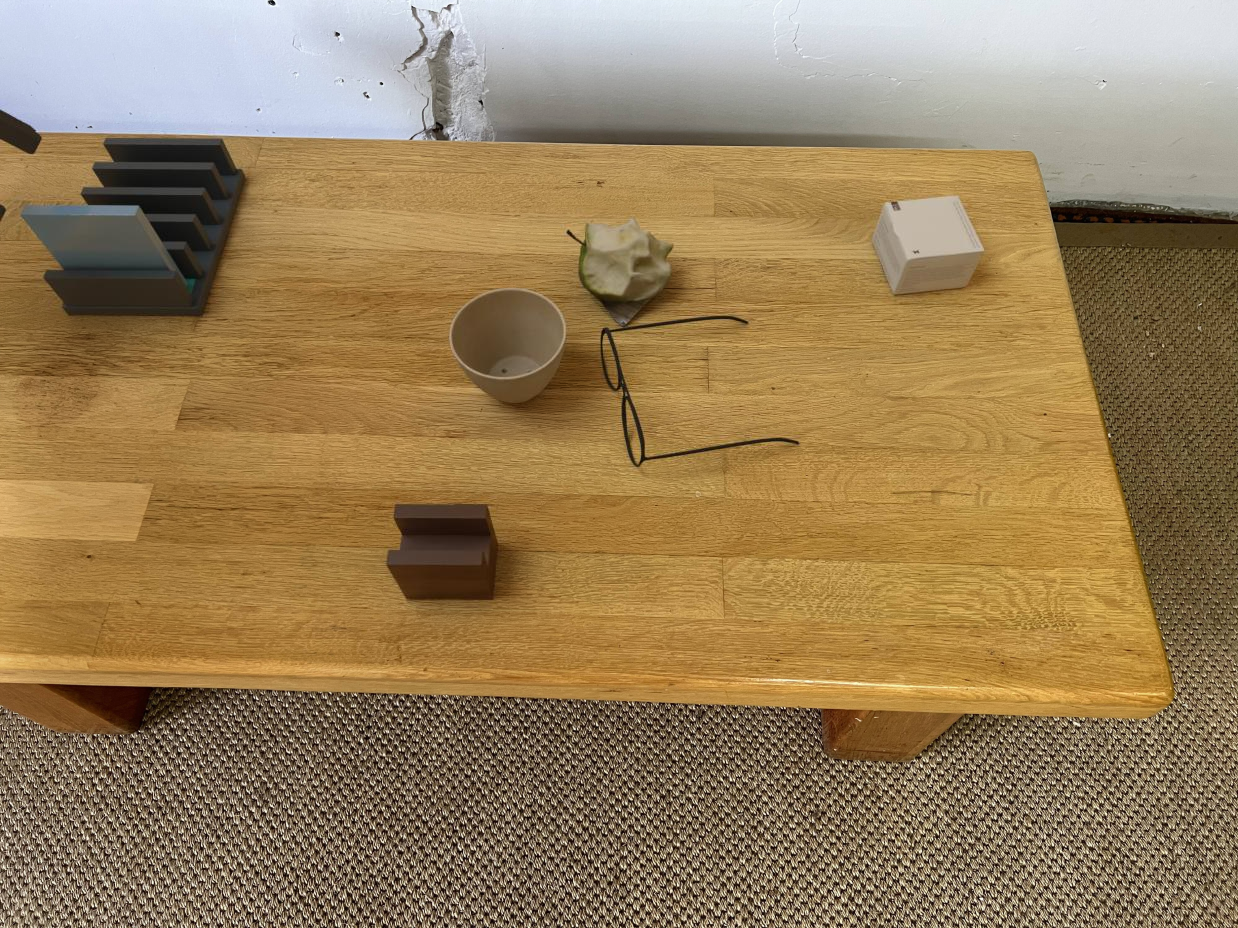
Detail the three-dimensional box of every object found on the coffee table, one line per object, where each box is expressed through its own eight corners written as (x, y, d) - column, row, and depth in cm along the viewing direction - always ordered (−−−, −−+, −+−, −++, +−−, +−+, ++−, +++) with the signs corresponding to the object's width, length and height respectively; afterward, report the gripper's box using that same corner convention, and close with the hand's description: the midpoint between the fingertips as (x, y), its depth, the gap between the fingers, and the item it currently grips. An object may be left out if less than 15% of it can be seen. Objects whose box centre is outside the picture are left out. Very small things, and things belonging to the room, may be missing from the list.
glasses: (596, 352, 82) (601, 317, 77) (743, 333, 85) (755, 298, 81) (635, 481, 75) (643, 450, 70) (793, 454, 78) (810, 423, 74)
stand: (493, 600, 69) (481, 565, 63) (405, 599, 69) (385, 564, 63) (498, 543, 72) (487, 504, 66) (413, 542, 72) (395, 503, 66)
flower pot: (591, 392, 79) (588, 343, 73) (496, 444, 76) (486, 398, 70) (534, 321, 83) (527, 270, 77) (442, 368, 81) (427, 319, 74)
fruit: (560, 304, 86) (548, 235, 80) (621, 257, 90) (614, 188, 84) (631, 339, 82) (624, 269, 76) (691, 288, 86) (689, 218, 80)
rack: (202, 316, 84) (178, 279, 79) (67, 315, 84) (36, 278, 79) (246, 177, 93) (227, 137, 89) (125, 176, 93) (100, 136, 89)
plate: (185, 293, 83) (135, 215, 75) (81, 292, 83) (19, 214, 75) (188, 283, 84) (139, 205, 75) (85, 283, 84) (24, 204, 75)
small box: (968, 288, 86) (987, 251, 81) (891, 296, 85) (906, 260, 81) (942, 231, 89) (959, 193, 85) (869, 239, 89) (882, 201, 84)
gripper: (-193, 29, 68) (37, 149, 78) (-290, 152, 61) (-23, 267, 71) (-179, -38, 64) (63, 98, 73) (-282, 87, 56) (1, 219, 66)
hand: (20, 181), depth 72 cm, fingers open, 8 cm apart
